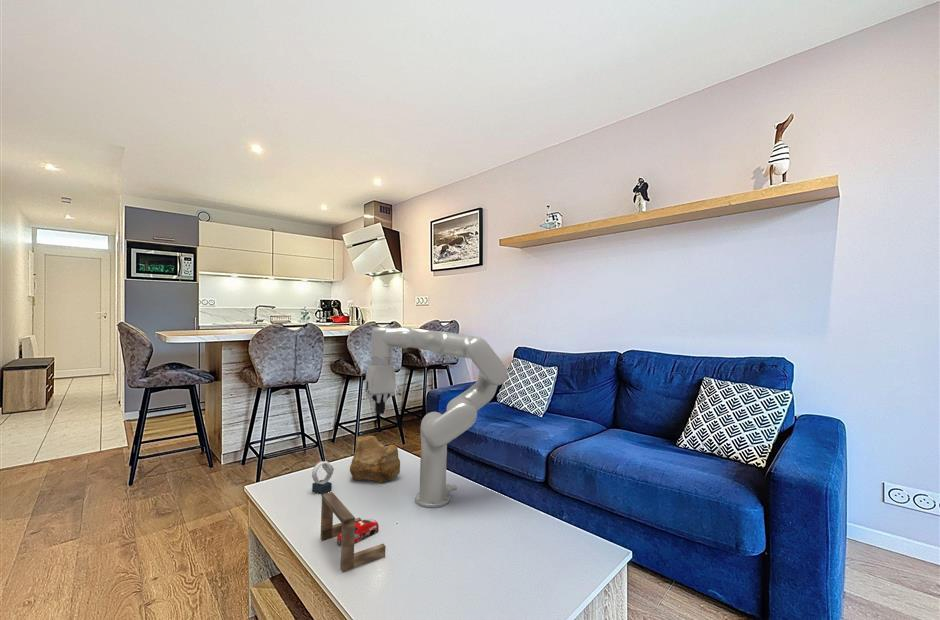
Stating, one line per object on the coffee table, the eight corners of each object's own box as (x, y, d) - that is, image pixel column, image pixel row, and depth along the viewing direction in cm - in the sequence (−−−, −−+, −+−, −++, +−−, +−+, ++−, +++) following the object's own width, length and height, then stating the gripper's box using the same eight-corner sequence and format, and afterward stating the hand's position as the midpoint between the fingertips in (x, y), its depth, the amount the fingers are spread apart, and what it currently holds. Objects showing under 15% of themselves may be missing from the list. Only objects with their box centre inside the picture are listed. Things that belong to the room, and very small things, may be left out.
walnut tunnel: (359, 527, 126) (360, 484, 126) (385, 556, 111) (386, 508, 111) (320, 538, 119) (321, 494, 119) (342, 572, 103) (343, 520, 104)
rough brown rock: (334, 478, 165) (334, 443, 164) (366, 463, 179) (365, 430, 178) (373, 495, 152) (372, 457, 151) (403, 478, 166) (403, 442, 165)
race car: (343, 550, 114) (343, 536, 114) (333, 543, 117) (333, 529, 117) (381, 532, 124) (381, 519, 124) (371, 526, 127) (371, 513, 127)
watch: (335, 489, 153) (336, 460, 153) (317, 497, 146) (318, 466, 146) (325, 486, 156) (326, 457, 156) (307, 493, 149) (308, 463, 149)
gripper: (395, 359, 150) (394, 408, 150) (357, 361, 141) (355, 413, 141) (405, 361, 144) (403, 412, 144) (365, 363, 135) (363, 418, 135)
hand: (379, 413), depth 142 cm, fingers closed
